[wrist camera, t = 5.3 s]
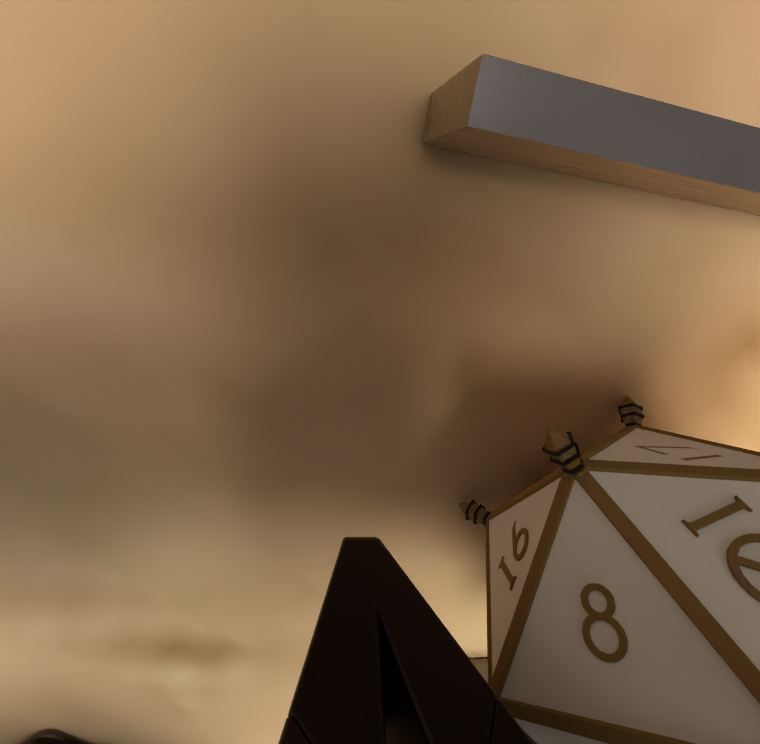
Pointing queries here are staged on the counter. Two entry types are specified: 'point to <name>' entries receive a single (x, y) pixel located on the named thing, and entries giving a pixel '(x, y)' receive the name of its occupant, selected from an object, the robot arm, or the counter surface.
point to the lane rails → (595, 138)
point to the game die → (629, 592)
